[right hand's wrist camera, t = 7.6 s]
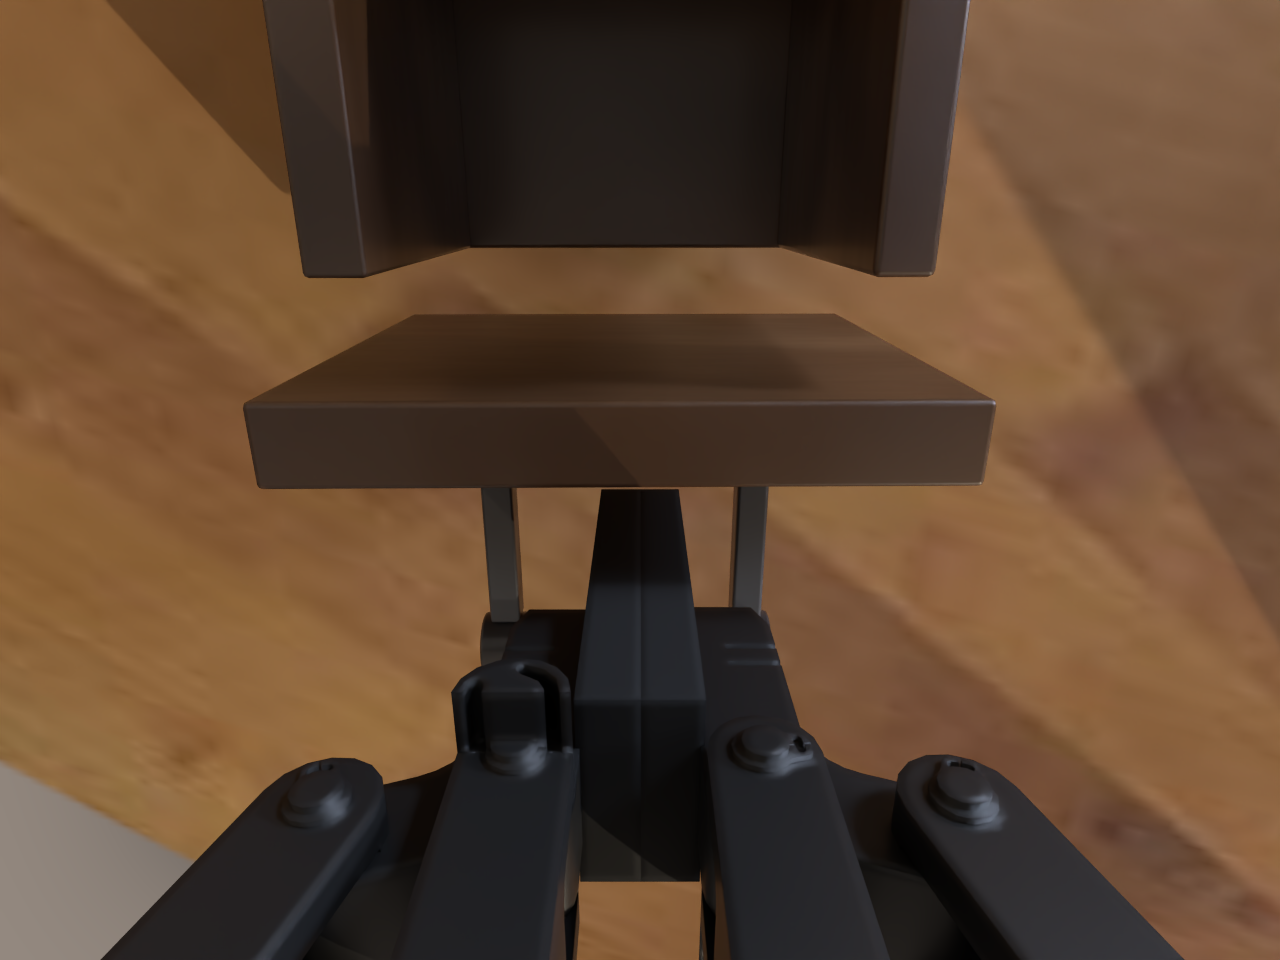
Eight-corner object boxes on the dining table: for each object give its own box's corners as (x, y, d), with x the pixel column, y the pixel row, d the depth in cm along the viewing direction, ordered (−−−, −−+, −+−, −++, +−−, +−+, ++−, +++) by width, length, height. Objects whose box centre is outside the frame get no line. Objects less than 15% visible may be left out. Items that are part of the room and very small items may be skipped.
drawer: (813, 584, 20) (928, 823, 12) (440, 586, 20) (319, 830, 12) (931, -748, 12) (1487, -2505, 4) (301, -758, 12) (-325, -2588, 4)
